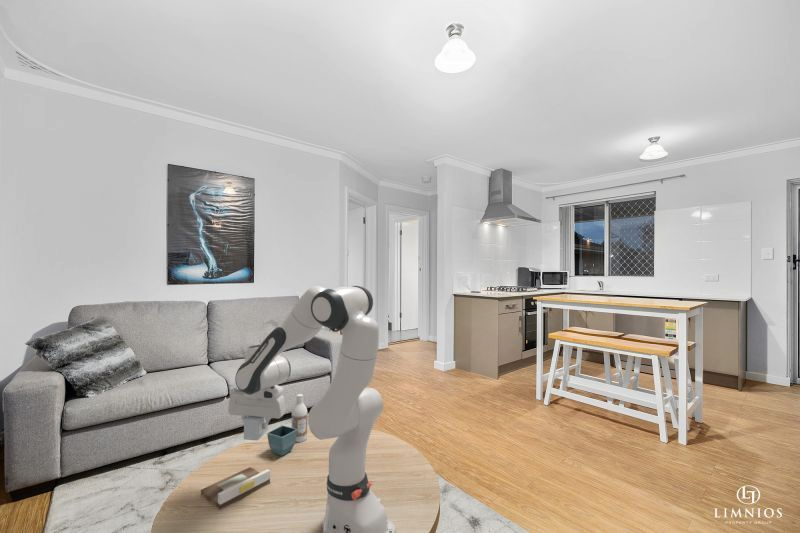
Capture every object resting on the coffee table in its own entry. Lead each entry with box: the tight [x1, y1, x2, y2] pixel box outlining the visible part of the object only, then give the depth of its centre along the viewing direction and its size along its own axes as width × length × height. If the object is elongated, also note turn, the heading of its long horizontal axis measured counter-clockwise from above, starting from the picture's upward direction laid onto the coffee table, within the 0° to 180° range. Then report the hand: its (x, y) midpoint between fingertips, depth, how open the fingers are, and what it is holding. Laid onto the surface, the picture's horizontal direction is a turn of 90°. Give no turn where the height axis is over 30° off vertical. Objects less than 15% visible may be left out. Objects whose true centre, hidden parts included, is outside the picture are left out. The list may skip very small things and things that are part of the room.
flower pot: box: [266, 425, 297, 457], centre depth 151 cm, size 9×9×9 cm
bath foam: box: [291, 393, 309, 443], centre depth 163 cm, size 7×7×20 cm
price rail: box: [218, 468, 271, 505], centre depth 122 cm, size 2×18×3 cm, turn 144°
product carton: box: [243, 416, 269, 441], centre depth 129 cm, size 5×8×7 cm
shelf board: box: [200, 466, 271, 510], centre depth 126 cm, size 13×18×2 cm
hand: (256, 427), depth 129 cm, fingers closed on product carton, 5 cm apart
